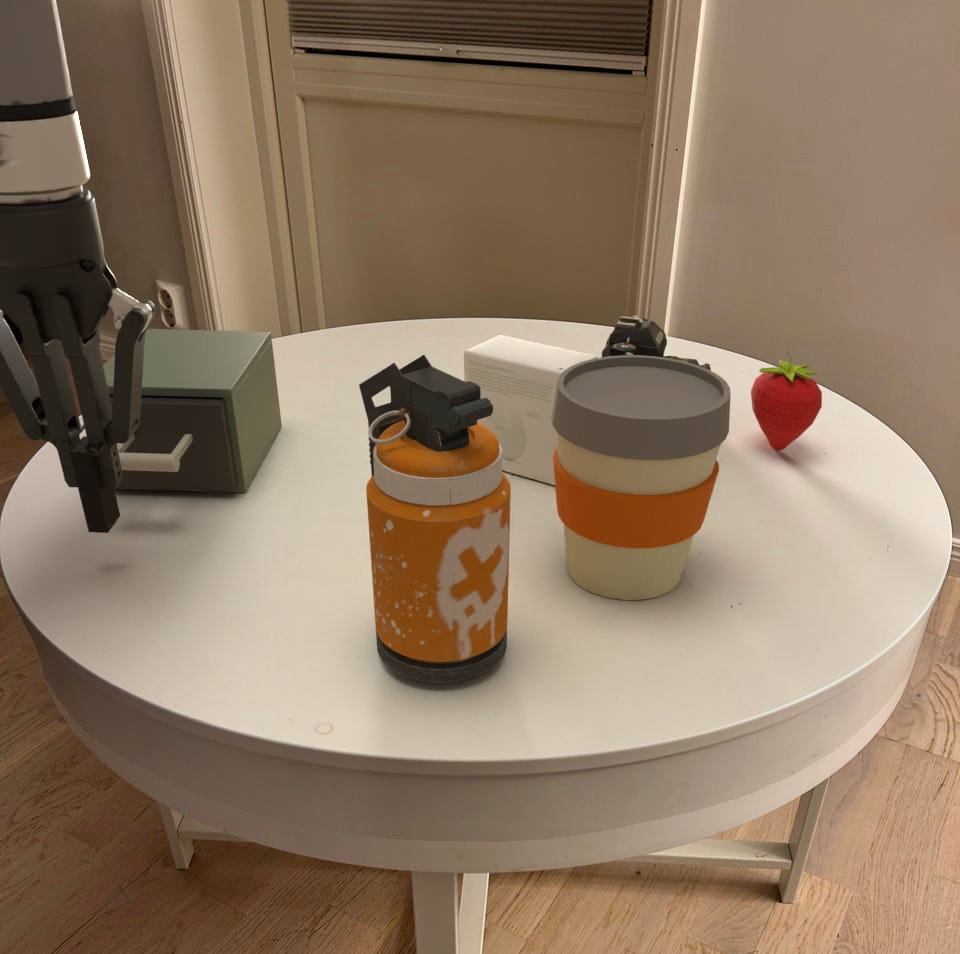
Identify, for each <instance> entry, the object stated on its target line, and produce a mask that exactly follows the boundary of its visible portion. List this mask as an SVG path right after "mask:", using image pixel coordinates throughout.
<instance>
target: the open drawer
mask: <svg viewBox="0 0 960 954" xmlns="http://www.w3.org/2000/svg"><path fill="white" fill-rule="evenodd" d="M109 396H110V401H111V406H112V409H113V395H109ZM159 397H160V396H142V395H141V409H140V424H139V427H138V428H137V430H136V431H135V432H134V433H133V435H132V436H131V437H130V438H129V440H128V441H127V442H126V443H123V444H121V443H117V448H118V453H119V458H120V463H121V468H122V472H123V476H122V480H121V482H120V483H119V484H118V486H132V487H163V488H194V489H226V490H234V489H235V488H236V486H237V484H238V482H237V475H236V469H235V462H234V455H233V449H232V442H231V435H230V429H229V422H228V415H227V409H226V402H225V400H223V398H214V397H208V398H209V399H182V398H159Z"/></svg>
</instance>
